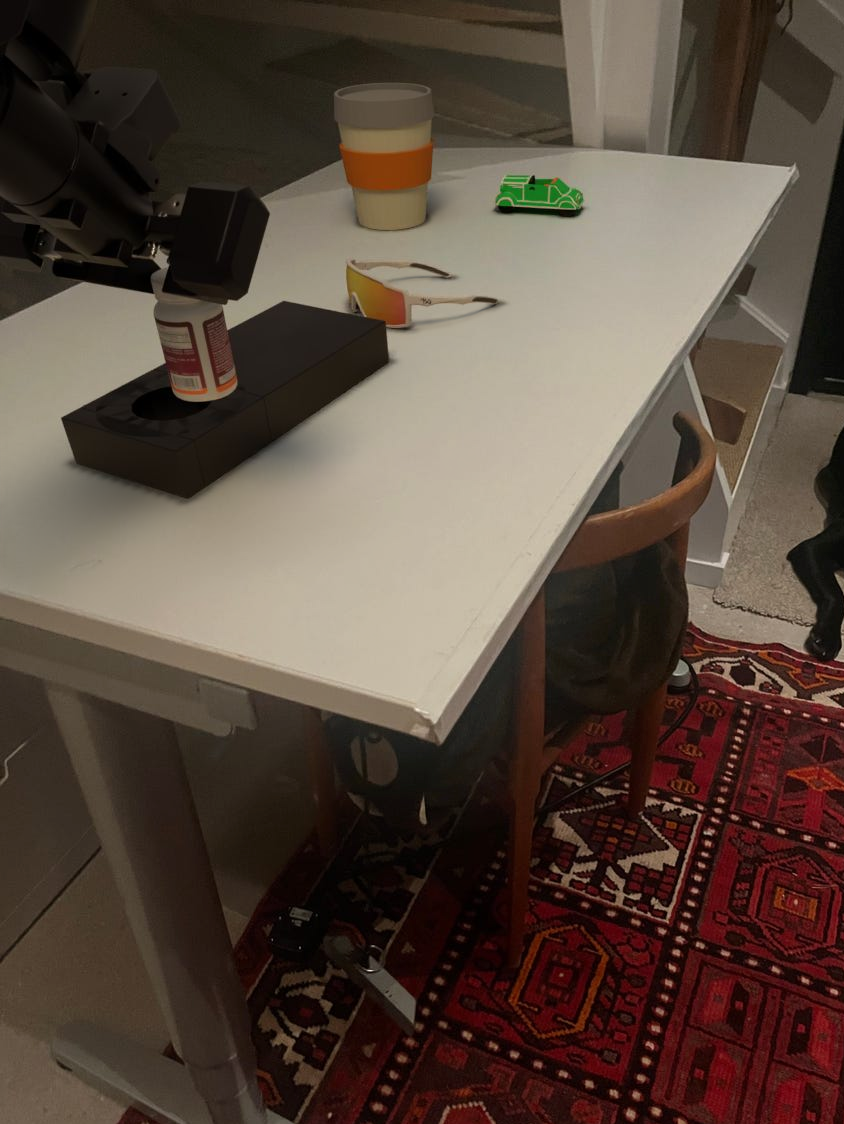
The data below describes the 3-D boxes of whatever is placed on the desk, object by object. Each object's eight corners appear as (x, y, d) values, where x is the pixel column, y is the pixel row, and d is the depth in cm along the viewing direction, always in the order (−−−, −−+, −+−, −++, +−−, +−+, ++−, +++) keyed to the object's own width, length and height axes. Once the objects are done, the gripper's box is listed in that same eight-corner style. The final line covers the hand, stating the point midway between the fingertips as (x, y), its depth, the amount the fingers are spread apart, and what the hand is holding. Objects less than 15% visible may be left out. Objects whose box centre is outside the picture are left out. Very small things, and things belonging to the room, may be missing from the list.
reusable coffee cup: (346, 236, 119) (332, 104, 109) (344, 209, 128) (331, 84, 119) (443, 231, 120) (437, 99, 110) (434, 204, 129) (428, 80, 120)
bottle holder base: (188, 498, 70) (176, 451, 68) (75, 463, 75) (60, 417, 72) (389, 361, 89) (386, 320, 86) (289, 339, 93) (283, 300, 91)
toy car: (491, 213, 126) (490, 178, 123) (500, 202, 129) (500, 168, 127) (578, 218, 123) (579, 182, 120) (584, 207, 127) (586, 172, 124)
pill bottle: (226, 370, 71) (204, 257, 65) (247, 393, 68) (225, 276, 62) (164, 384, 69) (136, 269, 64) (182, 409, 66) (154, 290, 60)
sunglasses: (323, 297, 102) (323, 250, 99) (440, 289, 109) (444, 245, 106) (384, 339, 92) (386, 288, 90) (507, 328, 100) (513, 280, 97)
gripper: (220, 23, 48) (345, 197, 63) (-53, 13, 53) (122, 175, 68) (161, 226, 47) (301, 353, 62) (-108, 194, 53) (80, 318, 68)
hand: (198, 293), depth 65 cm, fingers closed on pill bottle, 4 cm apart
